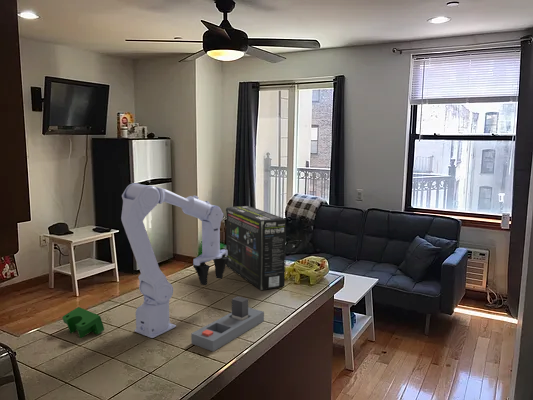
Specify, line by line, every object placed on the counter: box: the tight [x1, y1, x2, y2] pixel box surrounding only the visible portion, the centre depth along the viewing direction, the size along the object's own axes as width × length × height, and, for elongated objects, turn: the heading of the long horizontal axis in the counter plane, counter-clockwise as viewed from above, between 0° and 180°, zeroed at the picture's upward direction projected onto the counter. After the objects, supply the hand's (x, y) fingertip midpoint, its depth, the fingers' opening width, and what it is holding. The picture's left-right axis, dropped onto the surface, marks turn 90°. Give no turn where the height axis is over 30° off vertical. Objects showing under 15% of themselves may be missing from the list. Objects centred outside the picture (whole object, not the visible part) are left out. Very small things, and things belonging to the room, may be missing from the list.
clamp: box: [62, 306, 105, 339], centre depth 129 cm, size 12×6×9 cm, turn 48°
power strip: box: [190, 306, 265, 352], centre depth 130 cm, size 24×8×4 cm, turn 145°
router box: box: [225, 205, 287, 291], centre depth 180 cm, size 36×11×27 cm, turn 27°
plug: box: [231, 295, 249, 321], centre depth 134 cm, size 3×4×8 cm
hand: (211, 281), depth 145 cm, fingers open, 7 cm apart
